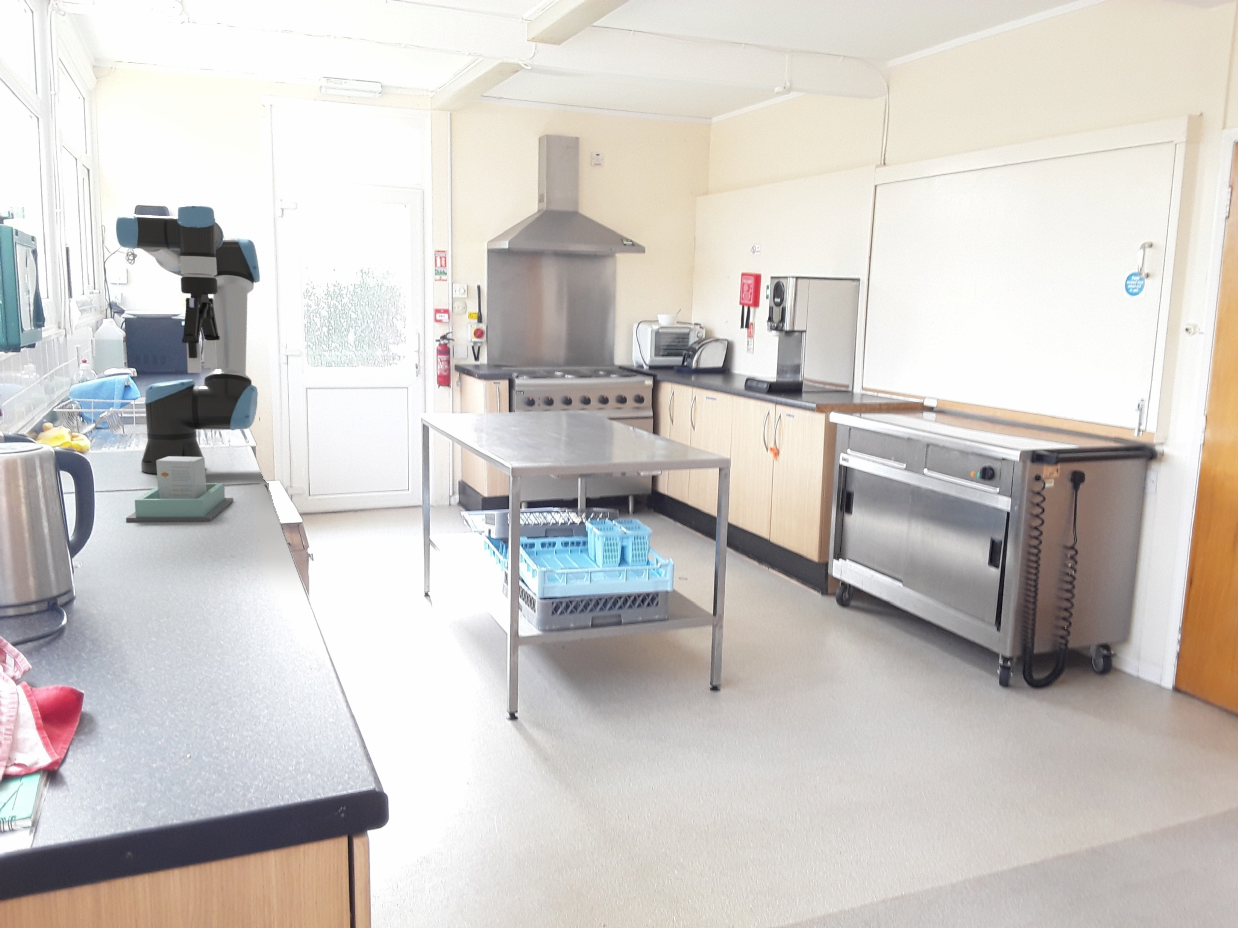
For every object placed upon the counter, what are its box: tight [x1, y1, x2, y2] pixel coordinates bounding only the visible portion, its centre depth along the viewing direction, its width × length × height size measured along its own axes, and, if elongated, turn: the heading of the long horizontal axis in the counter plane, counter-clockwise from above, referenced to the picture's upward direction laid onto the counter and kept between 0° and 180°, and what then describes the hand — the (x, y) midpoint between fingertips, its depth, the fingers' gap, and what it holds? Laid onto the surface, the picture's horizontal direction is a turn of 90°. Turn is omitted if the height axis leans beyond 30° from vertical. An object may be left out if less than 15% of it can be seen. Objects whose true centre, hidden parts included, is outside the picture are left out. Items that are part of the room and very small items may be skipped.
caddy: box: [125, 482, 234, 523], centre depth 201 cm, size 20×16×4 cm
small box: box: [156, 456, 207, 499], centre depth 201 cm, size 8×6×10 cm
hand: (202, 370), depth 217 cm, fingers open, 13 cm apart
